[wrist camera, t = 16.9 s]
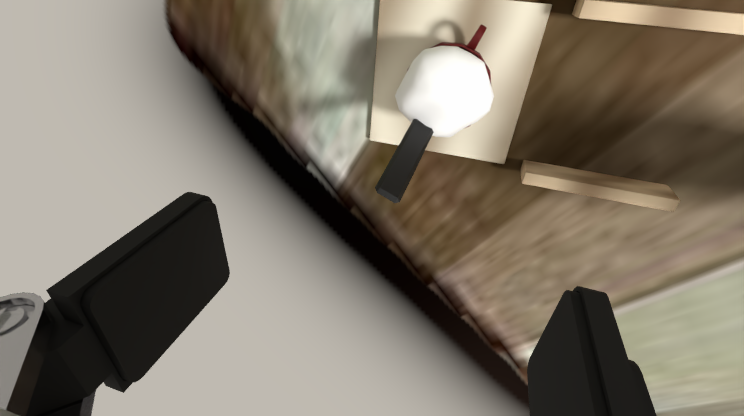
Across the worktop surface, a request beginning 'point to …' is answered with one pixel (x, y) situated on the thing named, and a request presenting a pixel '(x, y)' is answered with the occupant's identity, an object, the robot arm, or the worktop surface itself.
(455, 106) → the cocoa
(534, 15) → the pad
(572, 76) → the worktop surface
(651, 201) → the holder
